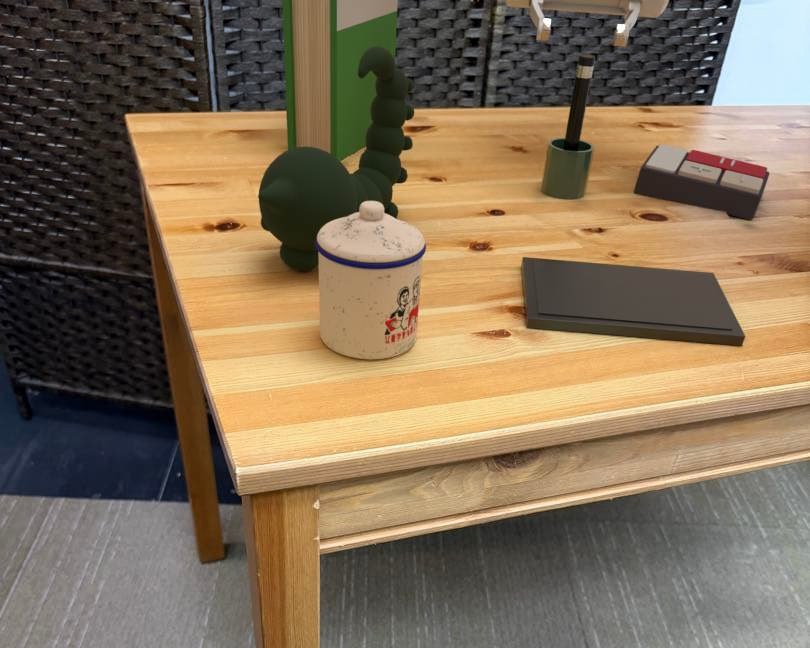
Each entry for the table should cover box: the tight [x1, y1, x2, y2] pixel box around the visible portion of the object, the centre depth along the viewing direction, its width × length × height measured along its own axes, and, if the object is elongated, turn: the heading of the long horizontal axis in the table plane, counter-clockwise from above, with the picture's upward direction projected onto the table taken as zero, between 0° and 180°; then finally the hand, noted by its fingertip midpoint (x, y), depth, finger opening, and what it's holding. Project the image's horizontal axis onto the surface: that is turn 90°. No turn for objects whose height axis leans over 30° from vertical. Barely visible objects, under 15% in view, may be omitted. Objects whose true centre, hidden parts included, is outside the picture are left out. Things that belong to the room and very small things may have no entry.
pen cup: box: [540, 137, 596, 201], centre depth 101 cm, size 6×6×6 cm
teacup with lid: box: [315, 201, 427, 360], centre depth 70 cm, size 12×9×12 cm
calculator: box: [633, 143, 771, 221], centre depth 104 cm, size 11×4×15 cm
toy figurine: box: [257, 46, 415, 272], centre depth 81 cm, size 9×19×25 cm
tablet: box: [521, 256, 746, 347], centre depth 80 cm, size 20×14×1 cm
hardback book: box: [281, 0, 399, 162], centre depth 107 cm, size 18×7×24 cm, turn 156°
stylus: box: [563, 53, 596, 151], centre depth 98 cm, size 2×2×15 cm
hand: (581, 40), depth 99 cm, fingers open, 8 cm apart
